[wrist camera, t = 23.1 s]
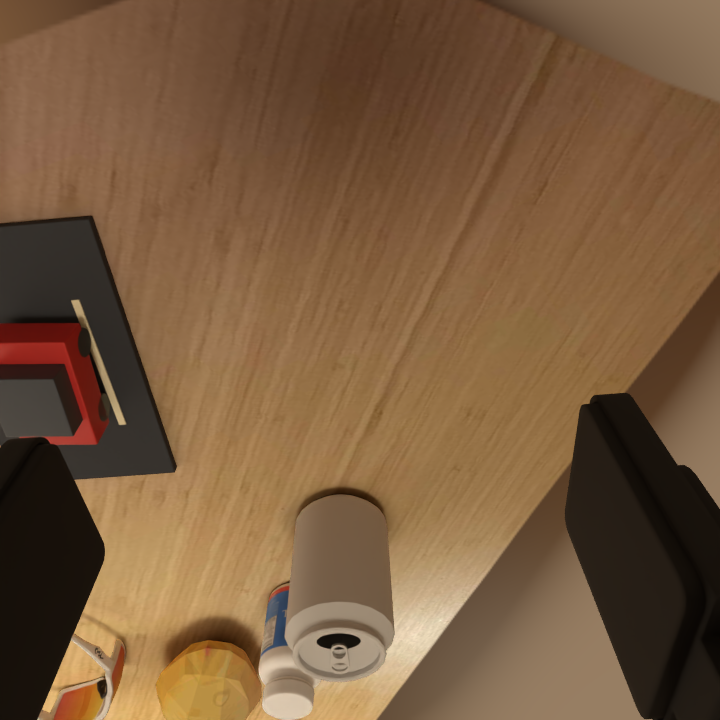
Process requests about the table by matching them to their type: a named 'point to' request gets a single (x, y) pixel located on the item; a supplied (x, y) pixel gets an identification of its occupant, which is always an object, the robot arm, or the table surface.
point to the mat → (107, 332)
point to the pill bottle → (282, 666)
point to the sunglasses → (90, 687)
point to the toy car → (50, 384)
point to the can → (340, 590)
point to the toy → (209, 684)
